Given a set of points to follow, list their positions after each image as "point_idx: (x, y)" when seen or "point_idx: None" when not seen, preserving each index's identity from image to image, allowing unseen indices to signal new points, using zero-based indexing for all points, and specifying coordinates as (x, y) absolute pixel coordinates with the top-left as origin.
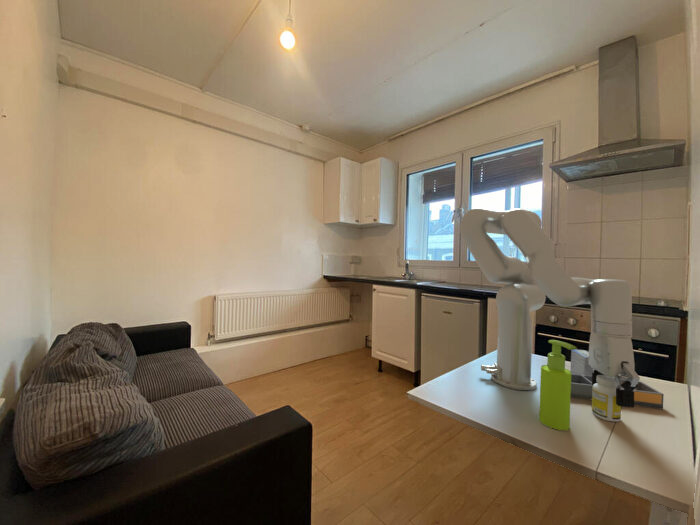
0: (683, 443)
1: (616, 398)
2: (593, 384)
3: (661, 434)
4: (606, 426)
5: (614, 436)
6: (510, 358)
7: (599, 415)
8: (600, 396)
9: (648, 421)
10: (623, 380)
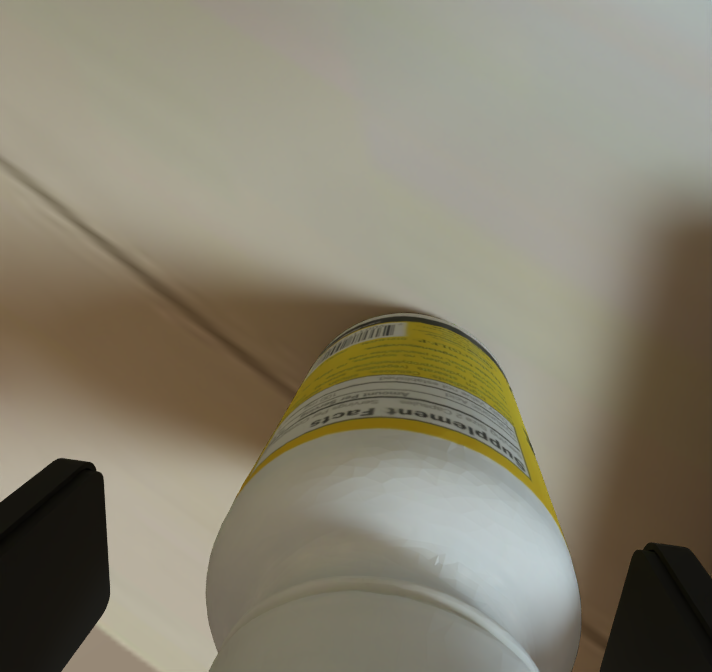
0: (152, 643)
1: (26, 507)
2: (679, 582)
3: None
4: (220, 290)
5: (74, 251)
6: None
7: (352, 330)
8: (299, 420)
9: None
10: None
